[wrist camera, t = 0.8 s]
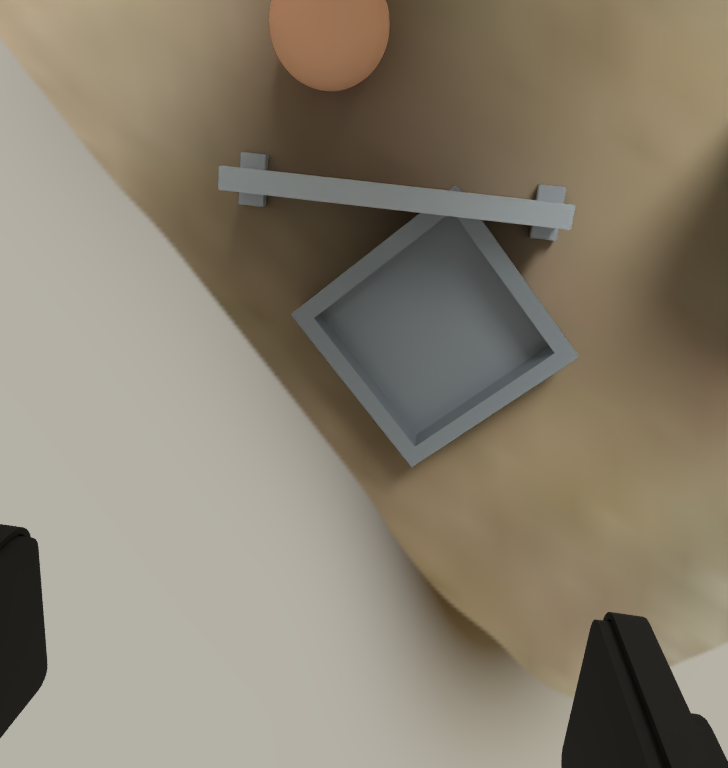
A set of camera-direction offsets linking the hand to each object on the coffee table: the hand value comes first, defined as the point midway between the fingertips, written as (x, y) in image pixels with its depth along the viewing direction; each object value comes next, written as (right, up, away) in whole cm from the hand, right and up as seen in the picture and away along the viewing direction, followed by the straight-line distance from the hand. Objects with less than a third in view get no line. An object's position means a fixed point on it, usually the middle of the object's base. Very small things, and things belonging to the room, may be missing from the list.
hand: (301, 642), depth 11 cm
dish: (+5, +7, +22) cm, 24 cm away
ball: (0, +19, +16) cm, 25 cm away
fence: (+3, +13, +20) cm, 24 cm away
